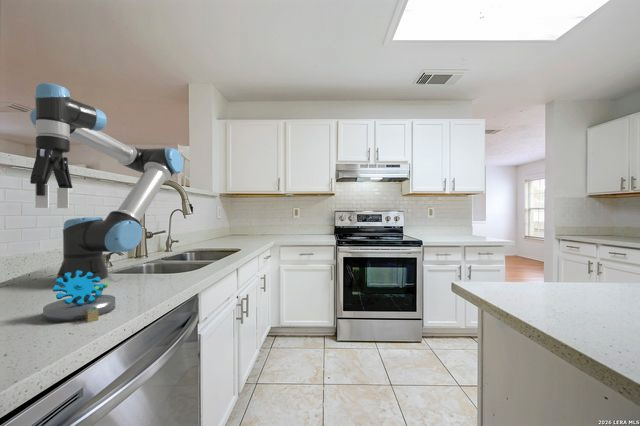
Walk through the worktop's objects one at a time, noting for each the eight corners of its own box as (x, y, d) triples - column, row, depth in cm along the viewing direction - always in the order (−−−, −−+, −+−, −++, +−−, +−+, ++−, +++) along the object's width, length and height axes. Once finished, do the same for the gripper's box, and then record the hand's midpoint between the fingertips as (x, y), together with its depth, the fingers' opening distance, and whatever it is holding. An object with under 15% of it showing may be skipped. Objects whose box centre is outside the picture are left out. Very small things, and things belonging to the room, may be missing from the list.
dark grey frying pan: (37, 313, 72) (38, 303, 72) (105, 300, 83) (105, 291, 83) (52, 330, 62) (52, 318, 62) (127, 313, 73) (127, 303, 73)
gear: (53, 304, 66) (54, 268, 72) (47, 318, 68) (48, 283, 74) (111, 300, 75) (107, 268, 80) (103, 313, 77) (100, 282, 82)
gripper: (56, 145, 98) (56, 208, 98) (12, 124, 75) (12, 207, 75) (83, 147, 100) (83, 208, 101) (49, 128, 77) (50, 207, 78)
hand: (53, 208), depth 88 cm, fingers open, 13 cm apart
